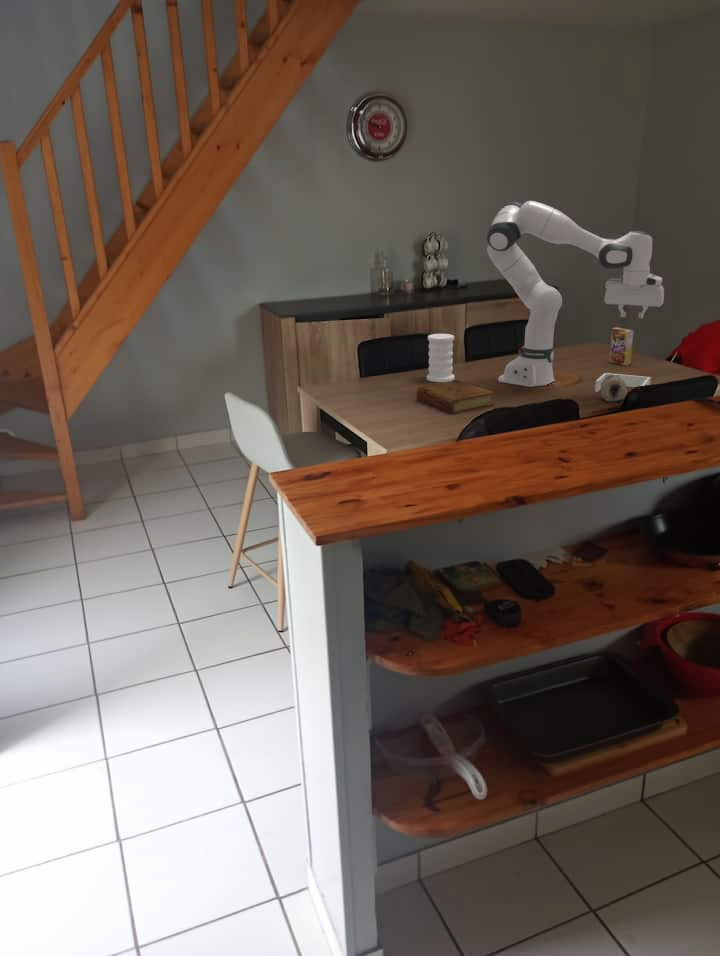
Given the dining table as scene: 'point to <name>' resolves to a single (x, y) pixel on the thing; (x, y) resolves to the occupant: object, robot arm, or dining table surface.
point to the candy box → (621, 346)
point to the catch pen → (625, 380)
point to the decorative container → (440, 358)
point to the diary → (455, 396)
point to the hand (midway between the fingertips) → (631, 317)
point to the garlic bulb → (613, 388)
